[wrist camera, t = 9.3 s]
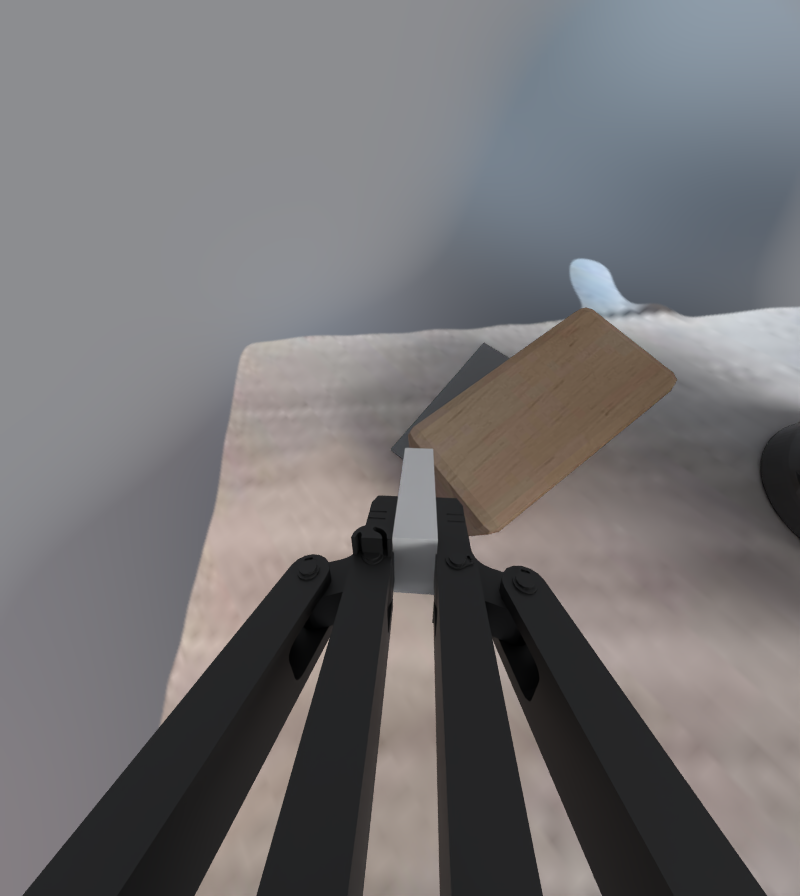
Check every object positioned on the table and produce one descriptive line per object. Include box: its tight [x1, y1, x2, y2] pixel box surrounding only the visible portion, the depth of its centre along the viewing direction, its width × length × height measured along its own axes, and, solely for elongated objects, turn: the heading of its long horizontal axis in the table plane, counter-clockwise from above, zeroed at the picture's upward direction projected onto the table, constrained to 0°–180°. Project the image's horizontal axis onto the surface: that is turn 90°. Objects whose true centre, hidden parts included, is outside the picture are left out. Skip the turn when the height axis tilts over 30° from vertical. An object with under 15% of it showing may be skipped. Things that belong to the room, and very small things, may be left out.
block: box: [408, 308, 677, 536], centre depth 26 cm, size 10×10×20 cm
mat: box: [391, 343, 510, 459], centre depth 32 cm, size 18×12×1 cm, turn 140°
